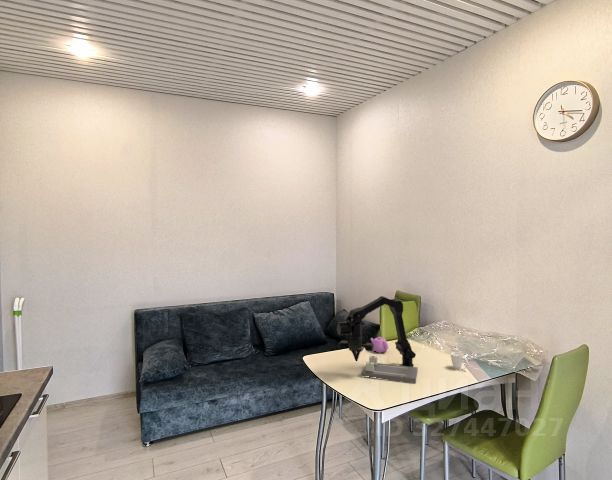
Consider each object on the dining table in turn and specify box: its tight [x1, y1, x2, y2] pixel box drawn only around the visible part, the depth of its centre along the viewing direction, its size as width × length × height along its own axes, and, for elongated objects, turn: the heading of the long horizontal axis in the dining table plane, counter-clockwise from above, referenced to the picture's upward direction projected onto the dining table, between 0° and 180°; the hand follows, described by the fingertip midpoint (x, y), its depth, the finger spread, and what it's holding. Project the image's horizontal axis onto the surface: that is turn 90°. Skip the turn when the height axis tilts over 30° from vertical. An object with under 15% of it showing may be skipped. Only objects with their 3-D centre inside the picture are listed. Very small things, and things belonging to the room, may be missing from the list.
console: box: [361, 362, 419, 384], centre depth 201 cm, size 16×28×3 cm, turn 70°
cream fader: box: [368, 355, 378, 365], centre depth 209 cm, size 3×4×4 cm
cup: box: [450, 351, 469, 371], centre depth 207 cm, size 7×10×8 cm
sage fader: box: [365, 361, 374, 372], centre depth 200 cm, size 3×4×4 cm
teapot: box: [369, 336, 389, 354], centre depth 239 cm, size 10×15×9 cm
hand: (356, 361), depth 202 cm, fingers closed
